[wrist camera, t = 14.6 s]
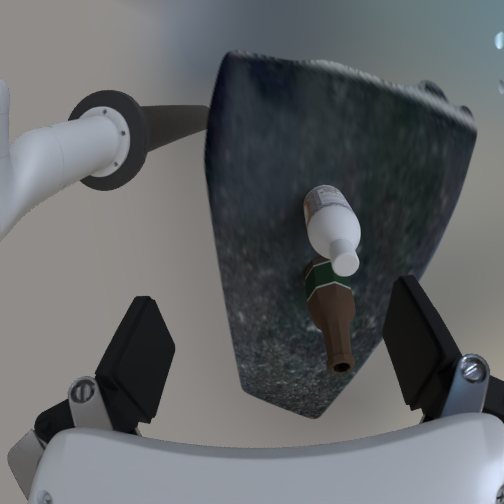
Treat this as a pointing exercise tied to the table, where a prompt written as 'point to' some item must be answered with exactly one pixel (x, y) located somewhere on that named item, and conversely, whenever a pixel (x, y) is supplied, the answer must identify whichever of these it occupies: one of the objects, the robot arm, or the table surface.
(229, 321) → the table surface
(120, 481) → the robot arm
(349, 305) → the beer bottle
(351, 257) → the bath foam
